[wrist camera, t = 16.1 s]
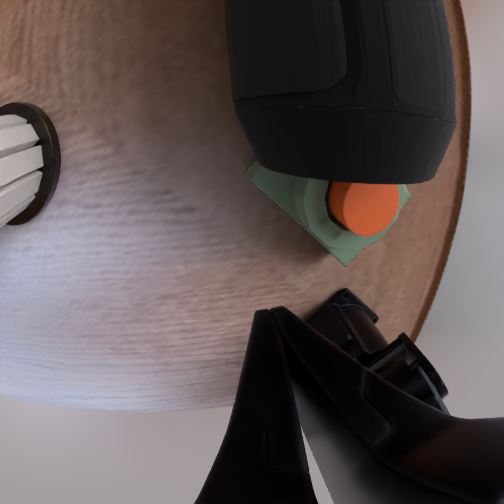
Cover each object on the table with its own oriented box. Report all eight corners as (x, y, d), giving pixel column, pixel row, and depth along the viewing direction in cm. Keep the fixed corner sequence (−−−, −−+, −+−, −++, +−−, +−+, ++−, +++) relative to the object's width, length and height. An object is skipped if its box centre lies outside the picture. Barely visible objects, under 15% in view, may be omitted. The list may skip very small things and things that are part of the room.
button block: (393, 186, 19) (428, 204, 15) (332, 252, 20) (358, 281, 17) (319, 93, 15) (352, 90, 11) (243, 172, 16) (256, 189, 13)
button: (391, 192, 15) (409, 202, 13) (352, 235, 16) (366, 249, 14) (359, 148, 13) (377, 154, 12) (314, 196, 14) (328, 207, 12)
